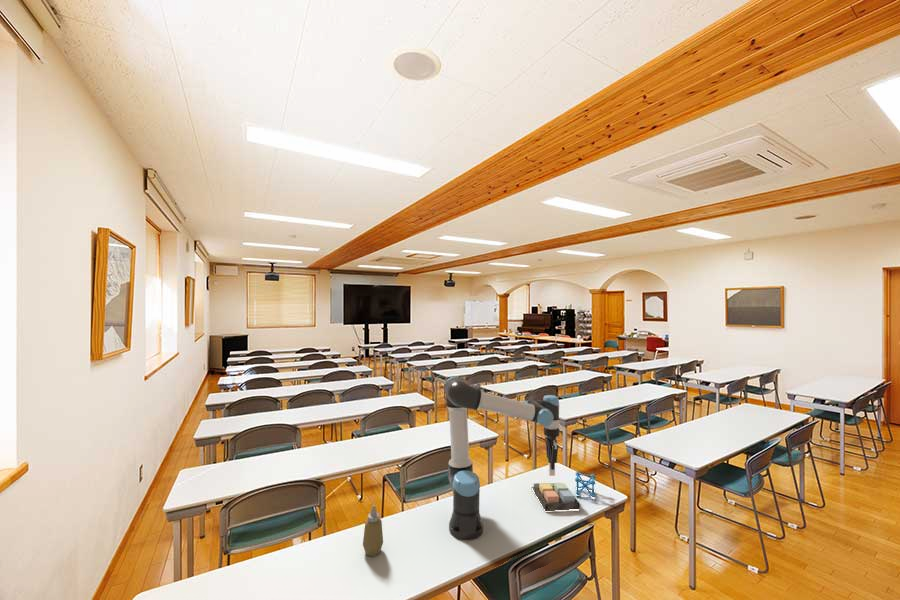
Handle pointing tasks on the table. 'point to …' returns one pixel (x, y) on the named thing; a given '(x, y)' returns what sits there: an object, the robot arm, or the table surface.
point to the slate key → (567, 496)
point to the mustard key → (545, 488)
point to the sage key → (560, 487)
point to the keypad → (554, 506)
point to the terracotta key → (551, 496)
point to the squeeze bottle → (373, 534)
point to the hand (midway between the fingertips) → (551, 474)
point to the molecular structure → (585, 485)
